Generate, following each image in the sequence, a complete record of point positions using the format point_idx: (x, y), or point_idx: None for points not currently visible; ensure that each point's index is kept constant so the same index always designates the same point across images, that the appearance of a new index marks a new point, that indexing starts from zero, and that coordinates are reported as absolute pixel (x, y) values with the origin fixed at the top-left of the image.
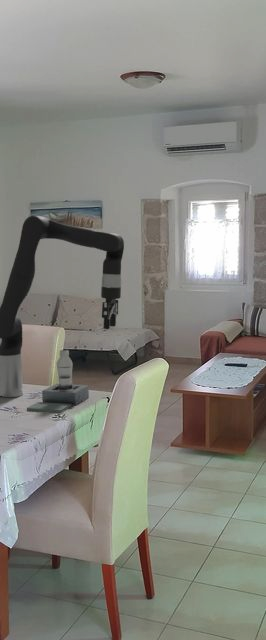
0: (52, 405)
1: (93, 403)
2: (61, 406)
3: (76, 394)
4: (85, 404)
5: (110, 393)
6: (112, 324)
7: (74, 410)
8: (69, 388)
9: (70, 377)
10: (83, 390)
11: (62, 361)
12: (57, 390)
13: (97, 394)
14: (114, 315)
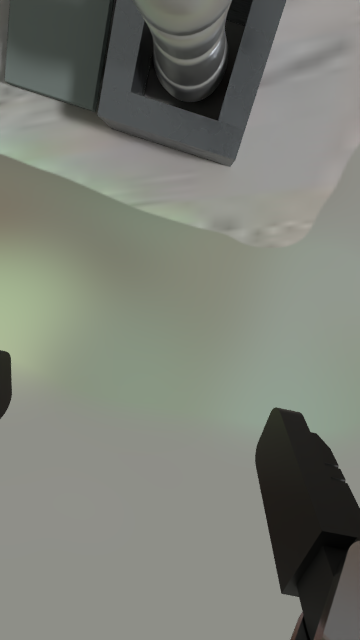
0: (68, 23)
1: (144, 195)
2: (56, 72)
3: (112, 122)
4: (130, 166)
5: (284, 245)
6: (268, 447)
7: (48, 135)
8: (163, 71)
9: (169, 54)
10: (183, 144)
11: None
12: None
13: (276, 197)
14: (306, 623)
